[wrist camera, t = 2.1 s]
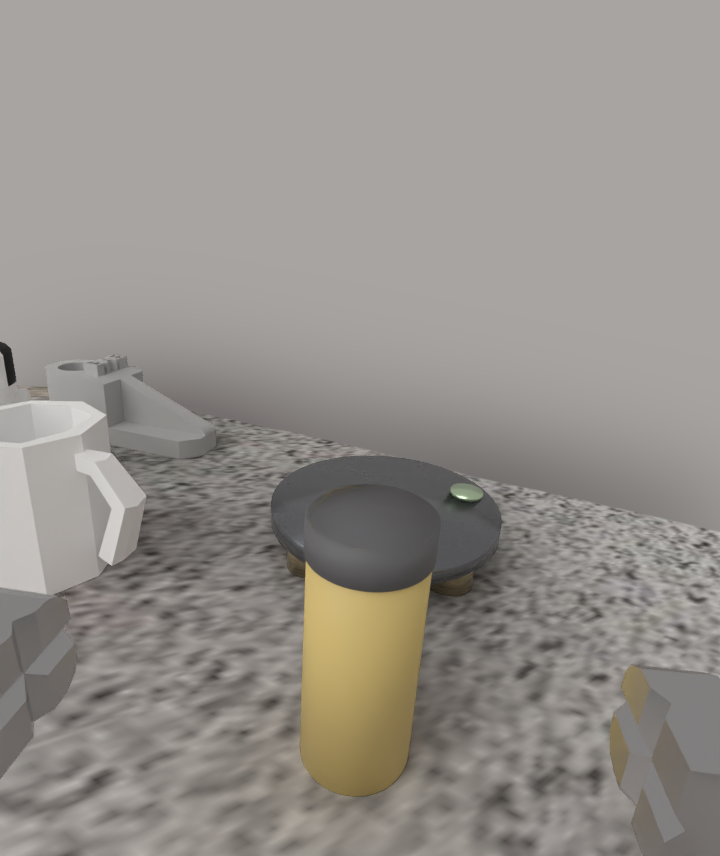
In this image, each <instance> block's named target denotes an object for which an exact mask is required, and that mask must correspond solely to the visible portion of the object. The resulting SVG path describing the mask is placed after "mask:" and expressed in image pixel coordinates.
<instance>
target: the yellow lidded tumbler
mask: <svg viewBox="0 0 720 856" xmlns="http://www.w3.org/2000/svg"><path fill="white" fill-rule="evenodd" d="M440 528H441V519H440V516H439V513H438V512H437V510H436V509H435V508H434V507H433V506H432V505H431V504H430V503H429V502H428V501H426V500H425V499H423V498H422V497H420V496H418V495H416V494H414V493H411V492H409V491H406V490H403V489H400V488H396V487H392V486H387V485H379V484H349V485H343V486H338V487H334V488H331V489H328V490H325V491H323V492H321V493H319V494H318V495H316V496H315V497H314V498H312V499H311V500H310V501H309V503H308V504H307V506H306V509H305V519H304V557H305V559H306V569H305V601H304V632H303V663H302V695H301V726H300V753H301V757H302V761H303V763H304V766H305V768H306V769H307V771H308V772H309V774H310V775H311V776H312V777H313V779H314V780H316V781H317V782H318V783H319V784H320V785H322V786H323V787H324V788H326V789H328V790H330V791H332V792H335V793H337V794H341V795H345V796H353V797H359V796H368V795H372V794H375V793H378V792H380V791H382V790H384V789H386V788H388V787H389V786H391V785H392V784H393V783H394V782H395V781H396V780H397V779H398V778H399V777H400V775H401V774H402V772H403V770H404V768H405V766H406V763H407V760H408V754H409V746H410V739H411V731H412V723H413V715H414V708H415V700H416V692H417V685H418V677H419V669H420V661H421V654H422V646H423V638H424V631H425V623H426V615H427V607H428V600H429V592H430V584H431V577H432V571H433V569H434V567H435V564H436V559H437V551H438V543H439V536H440Z"/></svg>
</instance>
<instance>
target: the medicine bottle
mask: <svg viewBox="0 0 720 856" xmlns="http://www.w3.org/2000/svg"><path fill="white" fill-rule="evenodd" d="M26 401H31V399H30V393H29V390H28V389H26V388H19V389H18V388H17V382H16V376H15V370H14V364H13V358H12V352H11V348H10V347H8V346H7V345H6V344H5V343H2V342H0V406H5V405H10V404H16V403H21V402H26Z"/></svg>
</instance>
